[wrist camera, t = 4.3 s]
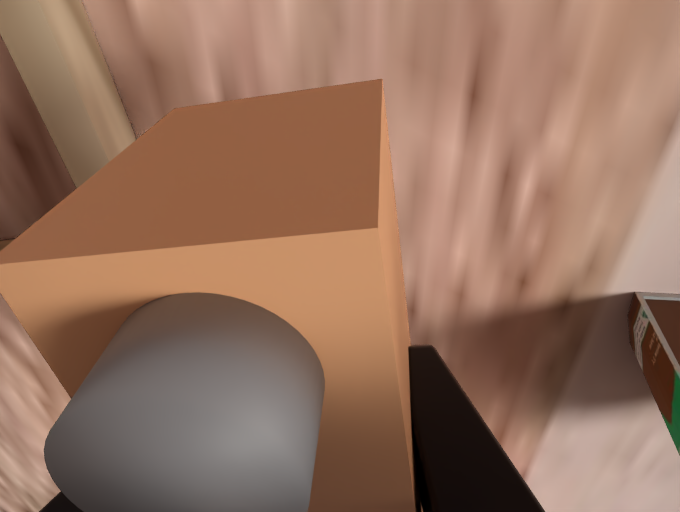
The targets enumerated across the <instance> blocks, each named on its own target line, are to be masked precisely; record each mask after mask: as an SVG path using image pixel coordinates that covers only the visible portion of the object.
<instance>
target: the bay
mask: <svg viewBox="0 0 680 512" xmlns="http://www.w3.org/2000/svg"><path fill="white" fill-rule="evenodd" d="M0 35H1V37H2V39H3V41H4V43H5V45H6V47H7V49H8V51H9V53H10V55H11V57H12V59H13V61H14V63H15V65H16V67H17V69H18V71H19V73H20V75H21V77H22V79H23V81H24V83H25V85H26V87H27V89H28V91H29V93H30V95H31V97H32V99H33V101H34V103H35V105H36V107H37V110H38V112H39V114H40V116H41V118H42V120H43V122H44V124H45V126H46V128H47V130H48V132H49V134H50V136H51V138H52V140H53V142H54V144H55V146H56V148H57V150H58V152H59V154H60V156H61V158H62V160H63V162H64V164H65V166H66V168H67V170H68V172H69V174H70V176H71V178H72V180H73V182H74V185H75V187H76V189H77V188H78V187H79V186H80V185H82V184H83V183H84V182H85V181H87V180H88V179H89V178H90V177H91V176H93V175H94V174H95V173H96V172H98V171H99V170H100V169H101V168H102V167H104V166H105V165H106V164H107V163H109V162H110V161H111V160H112V159H113V158H115V157H116V156H117V155H118V154H120V153H121V152H122V151H123V150H124V149H126V148H127V147H128V146H129V145H131V144H132V143H133V142H134V141H135V140H137V139H136V137H135V134H134V132H133V129H132V127H131V124H130V122H129V119H128V117H127V114H126V112H125V109H124V107H123V104H122V102H121V99H120V96H119V94H118V91H117V89H116V86H115V84H114V81H113V79H112V76H111V74H110V71H109V69H108V66H107V64H106V61H105V59H104V56H103V54H102V51H101V49H100V46H99V43H98V41H97V38H96V36H95V33H94V31H93V28H92V26H91V23H90V21H89V18H88V16H87V13H86V11H85V8H84V6H83V3H82V1H81V0H0ZM13 240H15V239H12V240H2V241H0V251H1V250H2V249H4V248H5V247H6V246H7V245H8V244H10V243H11V242H12V241H13Z"/></svg>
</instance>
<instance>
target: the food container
mask: <svg viewBox="0 0 680 512" xmlns="http://www.w3.org/2000/svg"><path fill="white" fill-rule="evenodd" d="M628 327H629V339H630V344H631V346H632V349H633V351H634V353H635V355H636V358H637V360H638V362H639V364H640V367H641V369H642V371H643V373H644V376H645V378H646V380H647V383H648V385H649V387H650V389H651V392H652V394H653V396H654V398H655V401H656V403H657V405H658V407H659V410H660V412H661V414H662V416H663V419H664V421H665V423H666V426H667V428H668V430H669V432H670V435H671V437H672V439H673V441H674V444H675V446H676V448H677V450H678V453H679V455H680V294H664V293H644V292H635V293H634V296H633V299H632V302H631V305H630V309H629V312H628Z"/></svg>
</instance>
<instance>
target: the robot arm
mask: <svg viewBox="0 0 680 512" xmlns="http://www.w3.org/2000/svg"><path fill="white" fill-rule="evenodd" d="M408 355H409V381H410V406H411V422H412V431H413V439H414V447H415V456H416V464H417V473H418V481H419V489H420V498H421V505H422V510H423V512H545V511H544V509H543V508H542V506H541V505H540V503H539V502H538V500H537V499H536V497H535V496H534V494H533V493H532V491H531V490H530V488H529V487H528V485H527V484H526V482H525V481H524V480H523V478H522V477H521V475H520V474H519V472H518V471H517V469H516V468H515V466H514V465H513V463H512V462H511V460H510V459H509V457H508V456H507V454H506V453H505V451H504V450H503V448H502V447H501V445H500V444H499V442H498V441H497V439H496V438H495V437H494V435H493V434H492V432H491V431H490V429H489V428H488V426H487V425H486V423H485V422H484V420H483V419H482V417H481V416H480V414H479V413H478V411H477V410H476V408H475V407H474V405H473V404H472V402H471V401H470V399H469V398H468V396H467V395H466V393H465V392H464V391H463V389H462V388H461V386H460V385H459V383H458V382H457V380H456V379H455V377H454V376H453V374H452V373H451V371H450V370H449V368H448V367H447V365H446V364H445V362H444V361H443V359H442V358H441V356H440V355H439V353H438V352H437V350H436V349H435V348H434V347H433V346H432V345H429V344H428V345H411V346H409V347H408ZM39 512H84V511H82V510H81V509H79V508H78V507H77V506H76V505H75V504H74V503H72V502H71V501H70V500H69V499H68V498H67V497H66V496H65V495H64V494H63V493H62V492H60V493H58V494H57V495H56V496H55V497H54V498H53V499H52V500H51V501H50V502H49V503H48V504H47V505H46V506H45V507H44V508H42V509H41V510H40V511H39Z"/></svg>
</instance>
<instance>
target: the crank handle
mask: <svg viewBox="0 0 680 512" xmlns="http://www.w3.org/2000/svg"><path fill="white" fill-rule="evenodd" d="M0 293H1V295H2V296H3V297H4V299H5V300H6V302H7V303H8V305H9V306H10V308H11V309H12V311H13V312H14V314H15V315H16V317H17V318H18V320H19V321H20V323H21V324H22V326H23V327H24V329H25V330H26V332H27V333H28V335H29V336H30V338H31V339H32V341H33V342H34V344H35V345H36V347H37V348H38V350H39V351H40V353H41V354H42V356H43V357H44V359H45V360H46V362H47V363H48V365H49V366H50V368H51V369H52V371H53V372H54V374H55V375H56V377H57V378H58V380H59V381H60V383H61V384H62V386H63V387H64V389H65V390H66V392H67V393H68V395H69V396H70V398H71V400H70V402H69V403H68V405H67V406H66V408H65V409H64V411H63V412H62V414H61V415H60V417H59V418H58V419H57V421H56V422H55V424H54V425H53V427H52V428H51V430H50V432H49V434H48V436H47V438H46V441H45V446H44V458H45V462H46V466H47V469H48V471H49V473H50V475H51V477H52V479H53V481H54V482H55V484H56V485H57V487H58V488H59V489H60V490H61V492H62V493H63V494H64V495H65V496H66V497H67V498H68V499H69V500H70V501H71V502H72V503H74V504H75V505H76V506H77V507H78V508H79V509H81V510H82V511H84V512H423V510H422V505H421V498H420V489H419V481H418V473H417V464H416V456H415V447H414V439H413V431H412V422H411V406H410V381H409V355H408V347H409V346H411V343H410V333H409V324H408V315H407V305H406V296H405V287H404V277H403V268H402V258H401V249H400V240H399V230H398V221H397V212H396V202H395V193H394V183H393V174H392V165H391V155H390V146H389V137H388V127H387V118H386V108H385V99H384V90H383V80H382V79H377V80H370V81H363V82H356V83H349V84H342V85H335V86H328V87H321V88H314V89H307V90H300V91H293V92H286V93H279V94H272V95H265V96H258V97H251V98H244V99H237V100H230V101H223V102H216V103H209V104H202V105H195V106H188V107H181V108H174V109H173V110H172V111H171V112H170V113H168V114H167V115H166V116H165V117H163V118H162V119H161V120H160V121H159V122H157V123H156V124H155V125H154V126H152V127H151V128H150V129H149V130H148V131H146V132H145V133H144V134H143V135H141V136H140V137H139V138H138V139H137V140H135V141H134V142H133V143H132V144H131V145H129V146H128V147H127V148H126V149H124V150H123V151H122V152H121V153H120V154H118V155H117V156H116V157H115V158H113V159H112V160H111V161H110V162H109V163H107V164H106V165H105V166H104V167H102V168H101V169H100V170H99V171H98V172H96V173H95V174H94V175H93V176H91V177H90V178H89V179H88V180H87V181H85V182H84V183H83V184H82V185H80V186H79V187H78V188H77V189H76V190H74V191H73V192H72V193H71V194H69V195H68V196H67V197H66V198H65V199H63V200H62V201H61V202H60V203H58V204H57V205H56V206H55V207H54V208H52V209H51V210H50V211H49V212H48V213H46V214H45V215H44V216H43V217H41V218H40V219H39V220H38V221H37V222H35V223H34V224H33V225H32V226H30V227H29V228H28V229H27V230H26V231H24V232H23V233H22V234H21V235H19V236H18V237H17V238H16V239H15V240H13V241H12V242H11V243H10V244H8V245H7V246H6V247H5V248H4V249H2V250H1V251H0Z"/></svg>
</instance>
